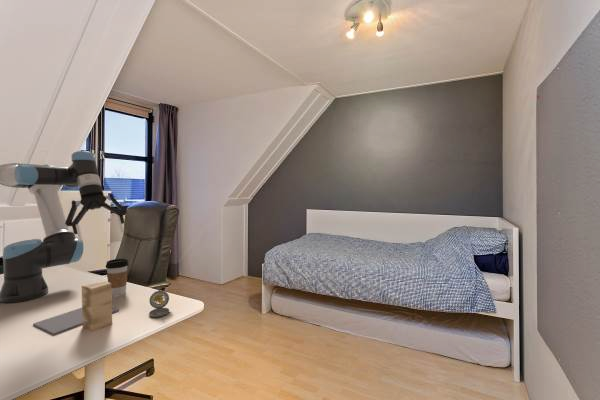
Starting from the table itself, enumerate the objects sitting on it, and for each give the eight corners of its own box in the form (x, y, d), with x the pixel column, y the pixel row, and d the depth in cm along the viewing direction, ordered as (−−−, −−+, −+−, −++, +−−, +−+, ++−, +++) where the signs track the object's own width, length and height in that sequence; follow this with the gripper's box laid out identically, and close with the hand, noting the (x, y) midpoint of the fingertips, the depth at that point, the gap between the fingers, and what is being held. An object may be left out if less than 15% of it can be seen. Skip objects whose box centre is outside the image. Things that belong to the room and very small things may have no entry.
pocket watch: (155, 320, 99) (155, 291, 99) (142, 314, 104) (142, 287, 103) (176, 311, 106) (176, 285, 106) (163, 306, 111) (163, 281, 110)
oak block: (82, 327, 94) (81, 285, 93) (102, 319, 99) (101, 280, 99) (92, 331, 91) (91, 288, 90) (112, 323, 96) (111, 283, 96)
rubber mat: (33, 325, 95) (33, 323, 95) (98, 303, 113) (98, 302, 113) (53, 335, 88) (53, 333, 88) (119, 310, 106) (119, 309, 106)
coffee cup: (118, 298, 118) (117, 262, 118) (101, 296, 120) (100, 261, 119) (133, 291, 127) (133, 258, 126) (117, 289, 128) (117, 257, 128)
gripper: (48, 190, 105) (59, 243, 101) (124, 178, 118) (137, 225, 114) (53, 196, 111) (65, 247, 108) (126, 184, 124) (138, 229, 121)
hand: (102, 236), depth 111 cm, fingers open, 13 cm apart
